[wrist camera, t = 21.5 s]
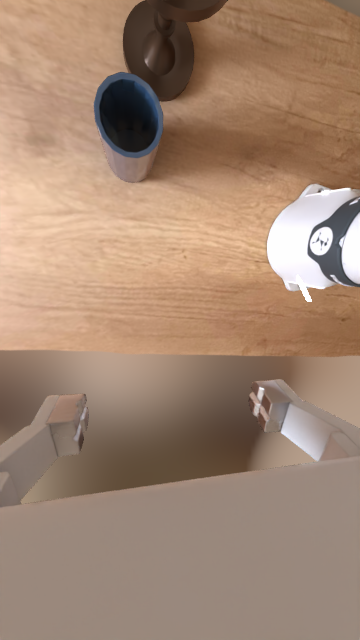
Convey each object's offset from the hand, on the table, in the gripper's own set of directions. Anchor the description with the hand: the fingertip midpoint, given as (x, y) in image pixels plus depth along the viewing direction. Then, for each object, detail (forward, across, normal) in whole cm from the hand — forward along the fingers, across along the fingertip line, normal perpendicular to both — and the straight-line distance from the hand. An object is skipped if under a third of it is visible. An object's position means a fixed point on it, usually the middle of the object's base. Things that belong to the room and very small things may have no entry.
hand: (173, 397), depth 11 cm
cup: (+31, +3, -17) cm, 35 cm away
